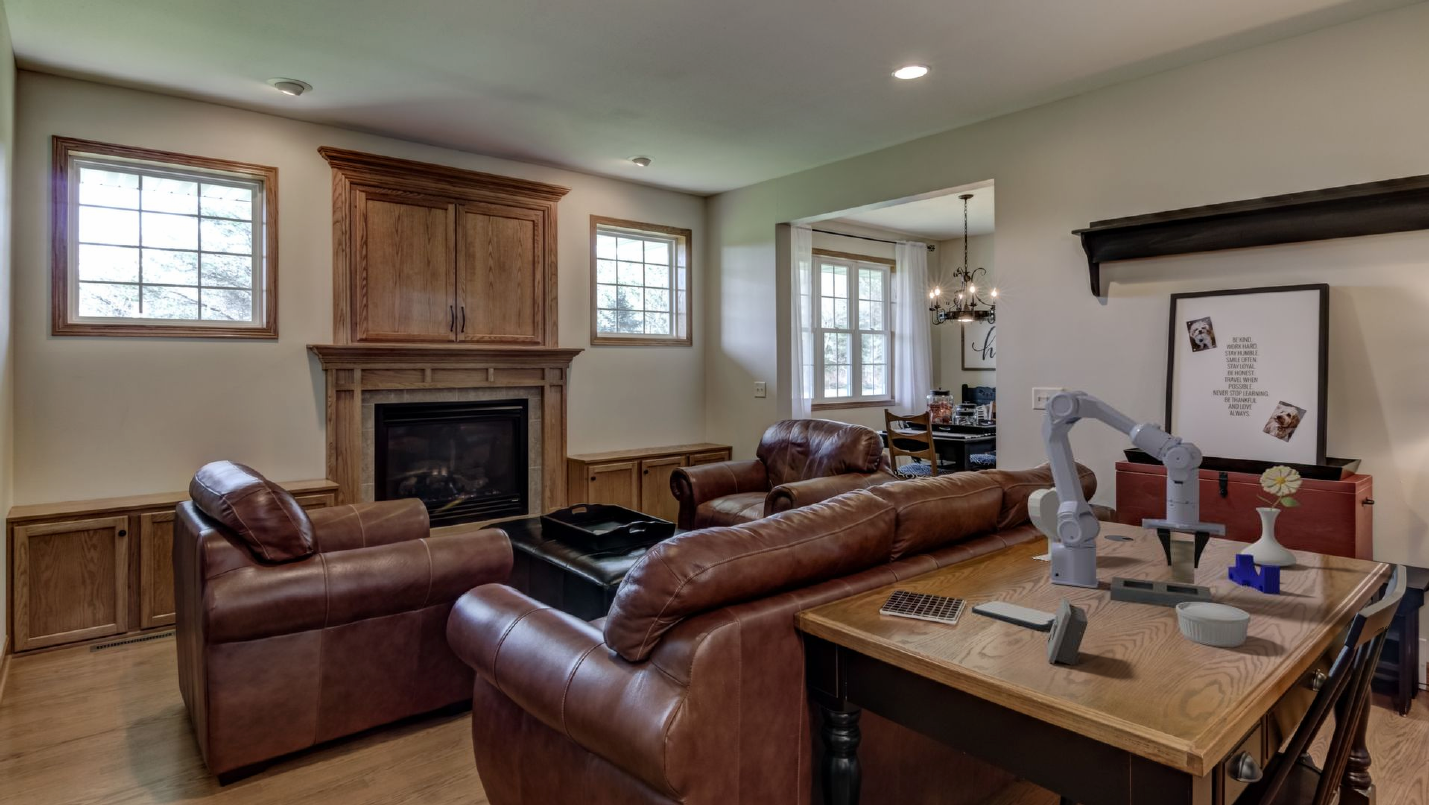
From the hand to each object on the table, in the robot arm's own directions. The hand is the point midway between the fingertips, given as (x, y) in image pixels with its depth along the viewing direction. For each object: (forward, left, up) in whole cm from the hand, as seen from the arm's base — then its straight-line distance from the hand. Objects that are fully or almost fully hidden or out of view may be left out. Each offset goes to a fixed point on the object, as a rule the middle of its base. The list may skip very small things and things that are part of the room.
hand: (1182, 566), depth 156 cm
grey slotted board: (-4, 0, -8) cm, 8 cm away
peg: (0, 0, -3) cm, 3 cm away
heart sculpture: (-28, +30, -8) cm, 42 cm away
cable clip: (+14, +21, -8) cm, 27 cm away
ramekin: (+4, -23, -8) cm, 25 cm away
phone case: (-28, -27, -8) cm, 40 cm away
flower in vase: (+20, +46, -8) cm, 51 cm away
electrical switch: (-18, -45, -8) cm, 49 cm away
